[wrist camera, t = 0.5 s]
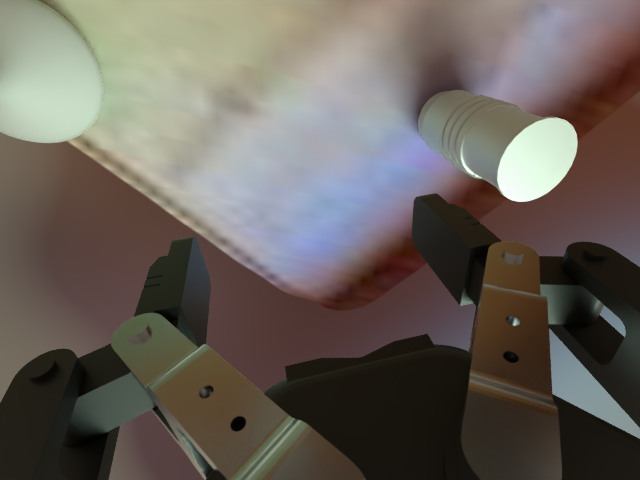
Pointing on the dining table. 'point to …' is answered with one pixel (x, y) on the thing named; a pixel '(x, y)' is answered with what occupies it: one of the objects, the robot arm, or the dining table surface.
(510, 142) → the candle
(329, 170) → the dining table surface
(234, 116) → the dining table surface
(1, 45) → the flower in vase
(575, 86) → the dining table surface
